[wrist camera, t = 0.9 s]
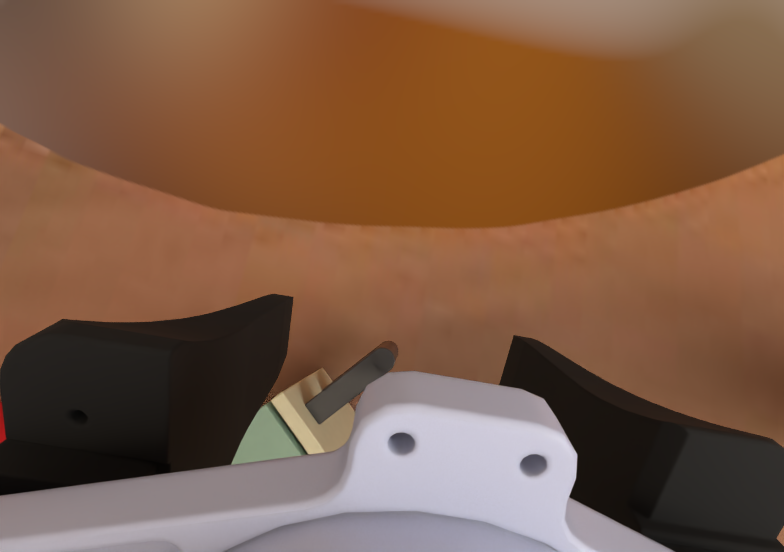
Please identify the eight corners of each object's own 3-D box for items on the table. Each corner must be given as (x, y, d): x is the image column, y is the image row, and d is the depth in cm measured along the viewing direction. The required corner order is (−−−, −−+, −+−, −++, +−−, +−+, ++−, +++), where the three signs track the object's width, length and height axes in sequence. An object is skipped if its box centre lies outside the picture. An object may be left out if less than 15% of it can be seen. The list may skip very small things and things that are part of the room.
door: (381, 321, 33) (367, 324, 22) (511, 491, 31) (559, 578, 21) (314, 373, 33) (269, 400, 22) (440, 546, 31) (454, 661, 21)
